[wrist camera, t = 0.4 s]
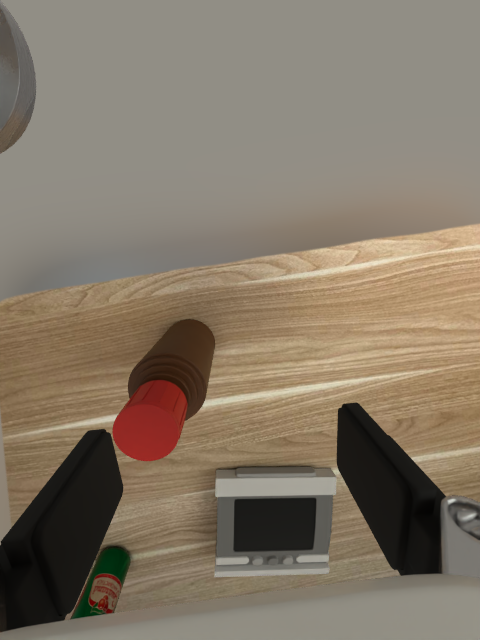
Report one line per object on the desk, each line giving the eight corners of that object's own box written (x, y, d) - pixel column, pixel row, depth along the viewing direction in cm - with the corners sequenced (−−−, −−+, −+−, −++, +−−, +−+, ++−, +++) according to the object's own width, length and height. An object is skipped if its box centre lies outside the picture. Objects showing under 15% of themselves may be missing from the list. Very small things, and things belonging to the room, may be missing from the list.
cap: (121, 408, 18) (99, 439, 15) (153, 369, 18) (136, 392, 15) (166, 437, 19) (154, 472, 16) (198, 400, 18) (191, 428, 15)
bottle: (155, 347, 32) (75, 437, 16) (184, 309, 31) (133, 362, 15) (195, 375, 33) (160, 488, 17) (224, 339, 32) (219, 421, 16)
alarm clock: (214, 577, 37) (214, 495, 32) (216, 541, 41) (216, 464, 36) (328, 573, 38) (345, 493, 33) (318, 538, 42) (331, 463, 37)
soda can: (138, 554, 40) (100, 675, 28) (120, 573, 40) (75, 699, 29) (111, 539, 39) (60, 658, 27) (93, 558, 40) (35, 683, 28)
